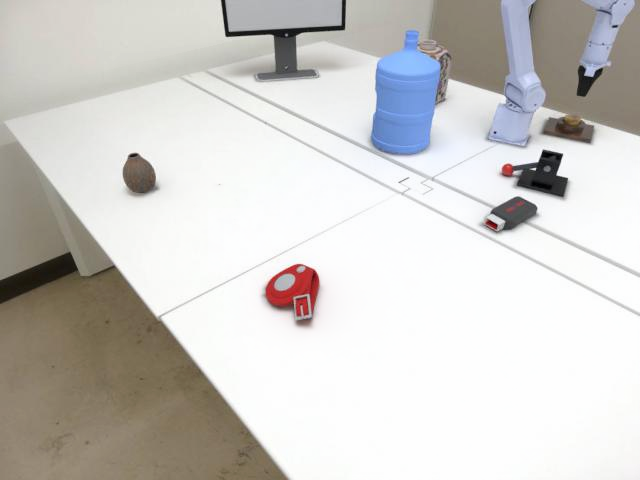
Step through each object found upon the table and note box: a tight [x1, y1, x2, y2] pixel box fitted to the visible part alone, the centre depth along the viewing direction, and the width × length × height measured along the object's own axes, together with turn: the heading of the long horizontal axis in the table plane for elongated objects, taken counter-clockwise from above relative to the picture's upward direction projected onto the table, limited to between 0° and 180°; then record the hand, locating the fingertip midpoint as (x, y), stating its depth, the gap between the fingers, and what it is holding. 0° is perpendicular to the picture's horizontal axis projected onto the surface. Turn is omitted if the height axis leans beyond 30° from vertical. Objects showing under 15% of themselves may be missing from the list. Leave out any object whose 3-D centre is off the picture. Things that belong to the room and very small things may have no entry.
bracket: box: [516, 149, 569, 198], centre depth 104 cm, size 10×8×7 cm
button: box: [563, 113, 582, 125], centre depth 126 cm, size 4×4×2 cm
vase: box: [122, 152, 157, 195], centre depth 103 cm, size 7×7×9 cm
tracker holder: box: [265, 263, 320, 321], centre depth 77 cm, size 12×4×10 cm
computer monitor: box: [220, 0, 347, 83], centre depth 153 cm, size 41×8×40 cm, turn 102°
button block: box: [542, 116, 595, 144], centre depth 127 cm, size 12×10×3 cm
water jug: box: [370, 29, 441, 155], centre depth 115 cm, size 16×16×28 cm
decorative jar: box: [417, 39, 453, 105], centre depth 141 cm, size 12×12×18 cm
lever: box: [501, 155, 556, 176], centre depth 106 cm, size 12×3×3 cm, turn 61°
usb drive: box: [483, 195, 538, 232], centre depth 95 cm, size 5×12×3 cm, turn 126°
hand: (580, 95), depth 122 cm, fingers closed
